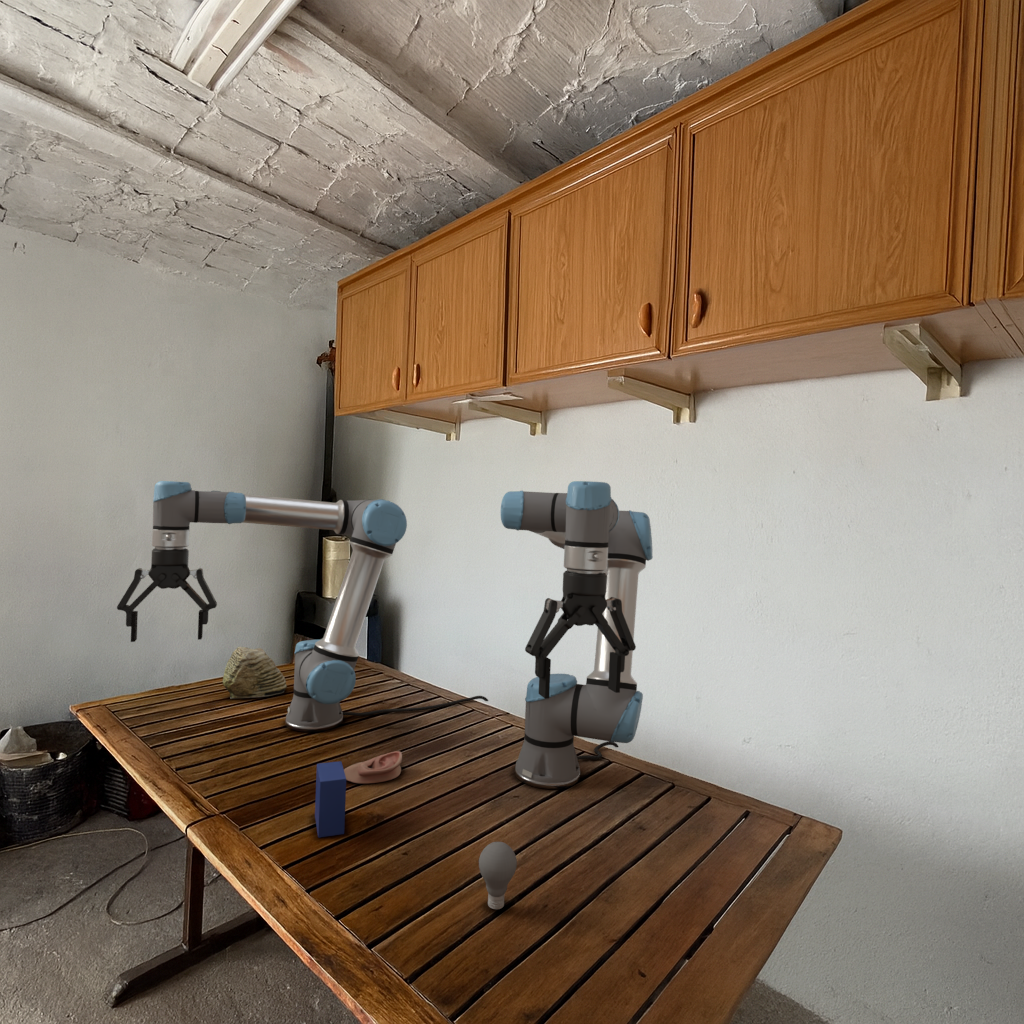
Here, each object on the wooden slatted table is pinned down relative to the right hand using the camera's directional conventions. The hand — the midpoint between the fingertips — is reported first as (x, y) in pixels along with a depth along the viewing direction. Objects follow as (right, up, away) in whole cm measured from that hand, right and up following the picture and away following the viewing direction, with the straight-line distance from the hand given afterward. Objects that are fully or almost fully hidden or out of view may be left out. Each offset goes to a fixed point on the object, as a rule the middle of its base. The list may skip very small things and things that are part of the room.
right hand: (579, 693), depth 110 cm
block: (-47, -29, +13) cm, 57 cm away
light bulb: (-14, -31, -10) cm, 36 cm away
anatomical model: (-44, -29, +36) cm, 64 cm away
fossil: (-92, -26, +89) cm, 130 cm away
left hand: (-91, +2, +37) cm, 99 cm away
